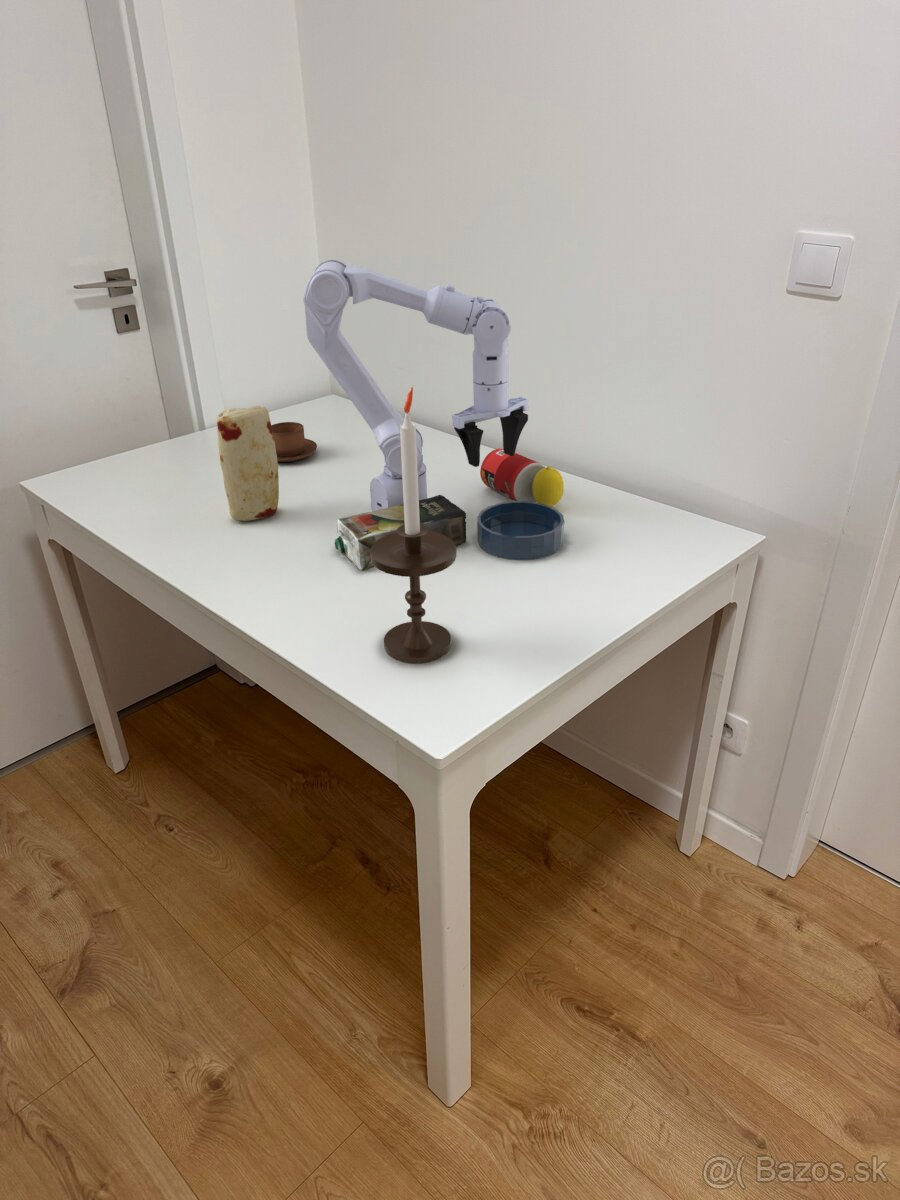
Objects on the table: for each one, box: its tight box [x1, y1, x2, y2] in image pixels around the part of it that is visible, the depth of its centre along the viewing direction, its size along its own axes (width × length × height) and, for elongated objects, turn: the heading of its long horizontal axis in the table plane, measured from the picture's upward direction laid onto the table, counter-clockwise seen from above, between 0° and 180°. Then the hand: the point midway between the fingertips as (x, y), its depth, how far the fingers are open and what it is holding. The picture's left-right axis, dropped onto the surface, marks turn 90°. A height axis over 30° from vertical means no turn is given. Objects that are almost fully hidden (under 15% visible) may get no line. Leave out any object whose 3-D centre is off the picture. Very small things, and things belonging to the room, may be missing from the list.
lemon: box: [532, 465, 565, 507], centre depth 149 cm, size 6×6×8 cm
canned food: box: [479, 448, 547, 502], centre depth 155 cm, size 8×8×11 cm
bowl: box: [476, 500, 565, 561], centre depth 139 cm, size 14×14×4 cm
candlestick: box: [370, 386, 457, 664], centre depth 105 cm, size 11×11×35 cm
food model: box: [216, 405, 280, 522], centre depth 146 cm, size 10×7×20 cm
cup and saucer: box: [271, 421, 318, 463], centre depth 175 cm, size 12×12×6 cm
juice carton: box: [334, 494, 467, 571], centre depth 137 cm, size 20×10×6 cm, turn 118°
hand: (491, 459), depth 144 cm, fingers open, 7 cm apart
